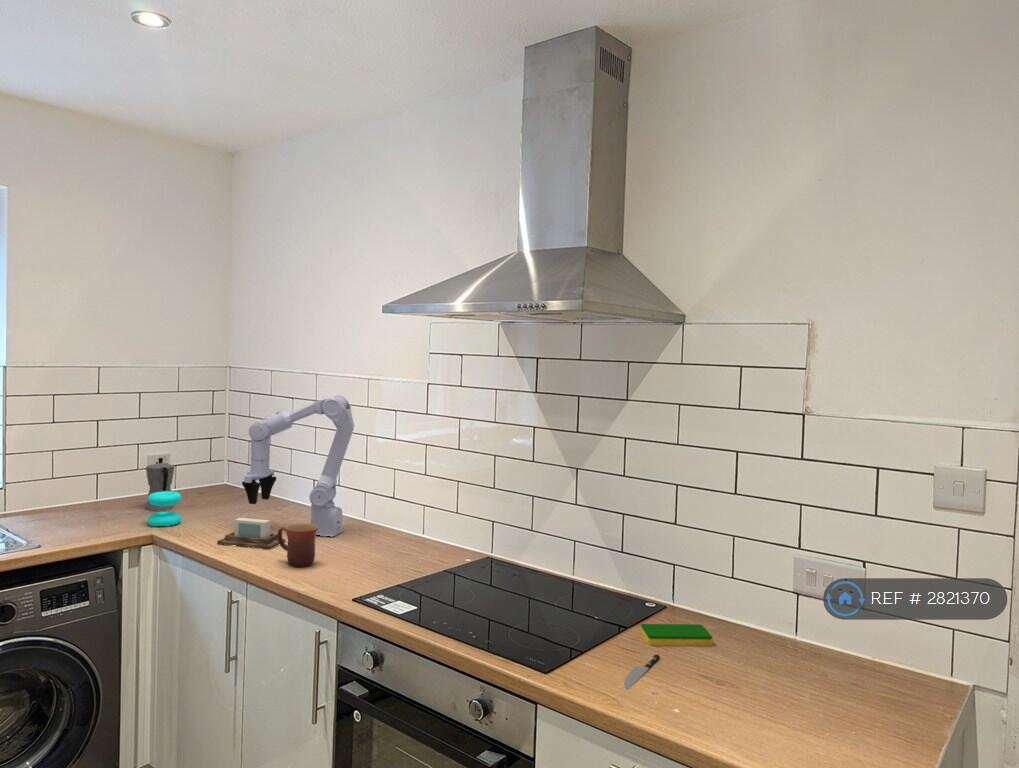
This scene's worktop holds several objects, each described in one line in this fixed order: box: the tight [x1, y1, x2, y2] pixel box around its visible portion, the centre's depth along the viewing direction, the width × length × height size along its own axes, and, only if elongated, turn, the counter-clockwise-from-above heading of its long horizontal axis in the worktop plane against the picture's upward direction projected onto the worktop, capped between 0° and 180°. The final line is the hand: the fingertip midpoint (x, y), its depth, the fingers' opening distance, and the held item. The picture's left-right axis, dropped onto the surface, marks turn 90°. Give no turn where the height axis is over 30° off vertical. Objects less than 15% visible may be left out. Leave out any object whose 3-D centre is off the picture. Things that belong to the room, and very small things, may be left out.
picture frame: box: [233, 517, 271, 539], centre depth 223 cm, size 10×3×6 cm, turn 78°
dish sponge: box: [640, 623, 713, 647], centre depth 162 cm, size 7×14×2 cm, turn 94°
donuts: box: [147, 490, 182, 527], centre depth 242 cm, size 10×10×10 cm
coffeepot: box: [145, 457, 176, 512], centre depth 262 cm, size 15×9×18 cm, turn 37°
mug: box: [276, 523, 318, 568], centre depth 205 cm, size 12×9×10 cm
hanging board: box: [216, 531, 286, 550], centre depth 223 cm, size 17×9×2 cm, turn 78°
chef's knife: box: [623, 654, 661, 690], centre depth 144 cm, size 19×1×3 cm
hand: (259, 501), depth 238 cm, fingers open, 7 cm apart
